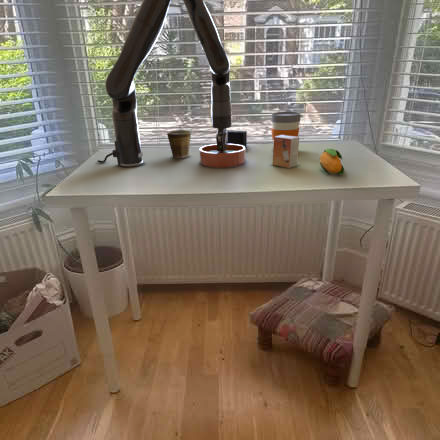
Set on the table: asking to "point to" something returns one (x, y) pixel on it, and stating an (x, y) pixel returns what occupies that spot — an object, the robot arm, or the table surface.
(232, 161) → the bowl
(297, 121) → the reusable coffee cup
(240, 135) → the digital camera
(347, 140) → the table surface
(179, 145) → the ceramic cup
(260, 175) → the table surface
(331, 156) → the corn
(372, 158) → the table surface
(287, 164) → the small box
